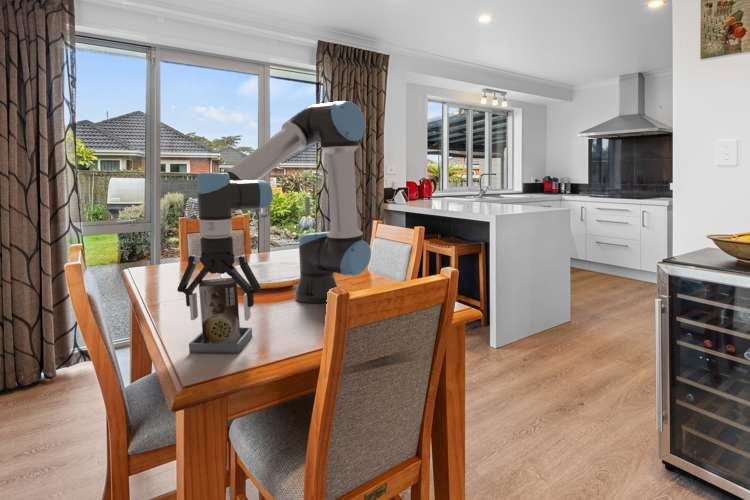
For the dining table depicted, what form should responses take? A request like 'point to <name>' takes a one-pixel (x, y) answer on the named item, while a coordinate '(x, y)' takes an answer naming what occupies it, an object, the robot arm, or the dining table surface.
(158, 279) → the dining table surface
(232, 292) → the coffee box
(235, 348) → the tray
